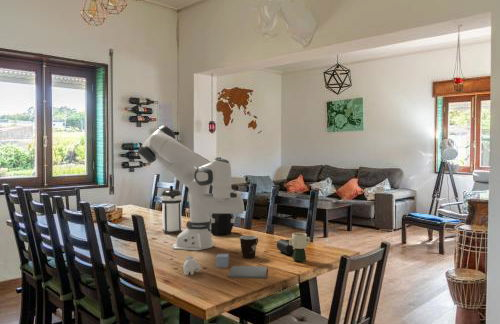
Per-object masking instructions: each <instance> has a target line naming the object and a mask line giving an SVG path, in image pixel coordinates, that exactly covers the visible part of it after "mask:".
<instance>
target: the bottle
mask: <svg viewBox="0 0 500 324" xmlns="http://www.w3.org/2000/svg"><path fill="white" fill-rule="evenodd" d="M211 216H212V218H213V219H215V220H214V221H215V223H211V235H212V236H227V235H230V234H231V233H232V230H233V228H234V225H235V222H234V223H231V219H233V218H234V216H233V215H232V214H223V213H212V215H211ZM210 221H211V219H210Z"/></svg>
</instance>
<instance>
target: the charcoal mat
mask: <svg viewBox="0 0 500 324" xmlns="http://www.w3.org/2000/svg"><path fill="white" fill-rule="evenodd" d="M267 270H268V266H258V265H257V266H253V265H252V266H251V265H250V266H249V265H247V266H246V265H232V266H231V268H230V271H229V273H228V275H227V278H232V279H233V278H237V279H238V278H239V279H243V278H245V279H266V278H267V272H268V271H267Z"/></svg>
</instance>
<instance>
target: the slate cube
mask: <svg viewBox="0 0 500 324" xmlns="http://www.w3.org/2000/svg"><path fill="white" fill-rule="evenodd" d="M215 258H216V259H215V263H216V268H228V267H229V265H230V261H229V260H230V255H229V253H218V254H216V257H215Z"/></svg>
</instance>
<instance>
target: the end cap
mask: <svg viewBox="0 0 500 324" xmlns="http://www.w3.org/2000/svg"><path fill="white" fill-rule="evenodd" d="M291 243H292V241H291ZM276 249H278V251H280V252H281V253H284V254H286V255H288V256H289V257H291V256H292V257H293V254H294V249H295V248H294V247H293V246H292V245H289V239H283V238H279V240H278V241H277V243H276Z"/></svg>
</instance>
